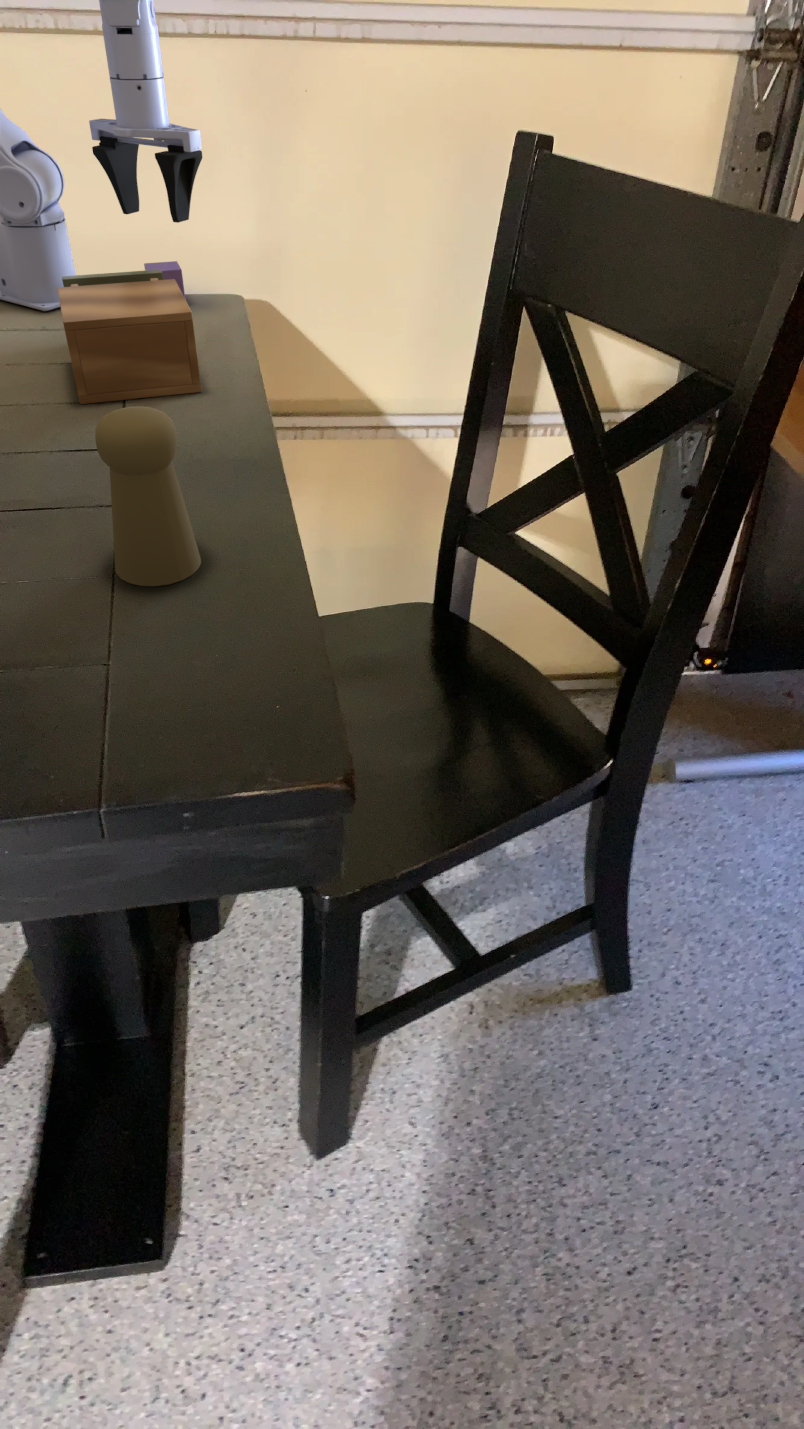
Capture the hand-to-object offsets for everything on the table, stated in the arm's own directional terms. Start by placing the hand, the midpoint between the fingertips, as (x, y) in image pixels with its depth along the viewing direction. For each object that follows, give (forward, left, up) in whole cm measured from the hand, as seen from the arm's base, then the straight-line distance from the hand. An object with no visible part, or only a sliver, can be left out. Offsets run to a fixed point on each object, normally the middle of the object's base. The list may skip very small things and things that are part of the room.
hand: (155, 216), depth 111 cm
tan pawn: (+45, -47, -10) cm, 65 cm away
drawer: (+8, -15, -8) cm, 19 cm away
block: (0, 0, -9) cm, 9 cm away
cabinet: (+16, -21, -9) cm, 28 cm away
